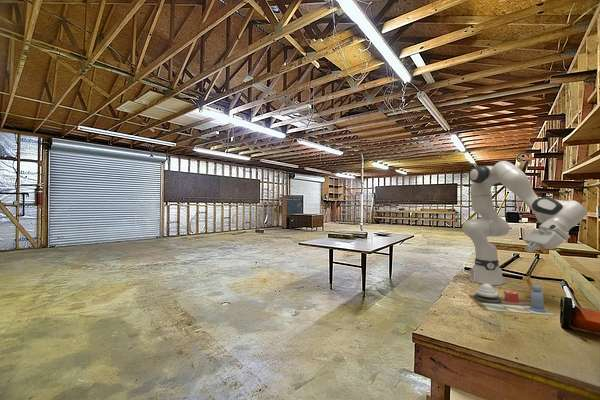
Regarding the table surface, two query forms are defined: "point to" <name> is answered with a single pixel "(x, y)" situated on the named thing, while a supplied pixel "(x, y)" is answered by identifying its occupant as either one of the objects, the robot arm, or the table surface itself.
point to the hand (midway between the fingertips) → (527, 251)
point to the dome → (487, 291)
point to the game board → (506, 305)
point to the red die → (511, 296)
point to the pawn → (537, 299)
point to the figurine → (528, 282)
